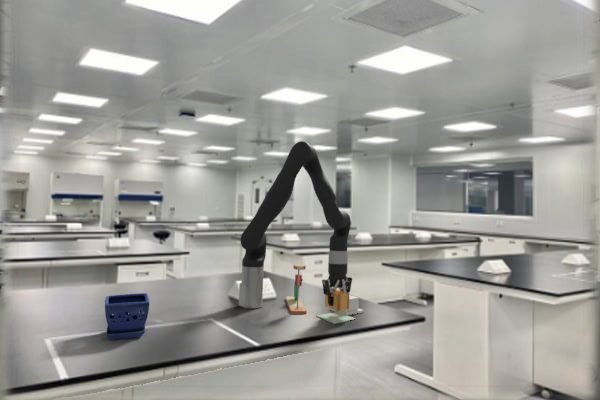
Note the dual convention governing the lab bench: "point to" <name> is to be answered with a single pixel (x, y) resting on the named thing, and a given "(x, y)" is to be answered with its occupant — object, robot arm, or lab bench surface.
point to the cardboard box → (339, 301)
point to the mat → (335, 317)
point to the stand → (351, 306)
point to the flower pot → (126, 315)
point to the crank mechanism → (296, 294)
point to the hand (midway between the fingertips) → (336, 304)
